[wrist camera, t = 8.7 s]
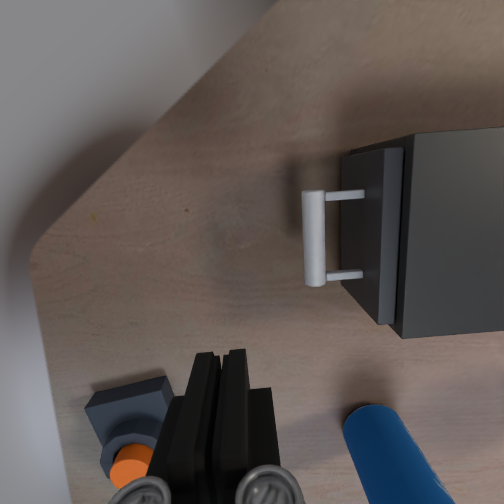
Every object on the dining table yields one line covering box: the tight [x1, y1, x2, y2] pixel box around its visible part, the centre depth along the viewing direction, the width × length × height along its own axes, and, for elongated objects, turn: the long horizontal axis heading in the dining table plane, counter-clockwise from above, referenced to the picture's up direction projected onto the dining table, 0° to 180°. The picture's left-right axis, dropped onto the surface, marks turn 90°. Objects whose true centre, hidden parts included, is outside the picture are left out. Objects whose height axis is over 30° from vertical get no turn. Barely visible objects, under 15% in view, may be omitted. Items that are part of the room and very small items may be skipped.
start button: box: [110, 443, 154, 489], centre depth 28 cm, size 4×4×2 cm
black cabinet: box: [351, 127, 504, 339], centre depth 22 cm, size 15×13×10 cm
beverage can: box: [343, 404, 455, 504], centre depth 27 cm, size 6×6×12 cm
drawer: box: [302, 147, 405, 325], centre depth 22 cm, size 18×12×8 cm, turn 94°
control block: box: [84, 376, 174, 480], centre depth 30 cm, size 12×8×4 cm, turn 14°
